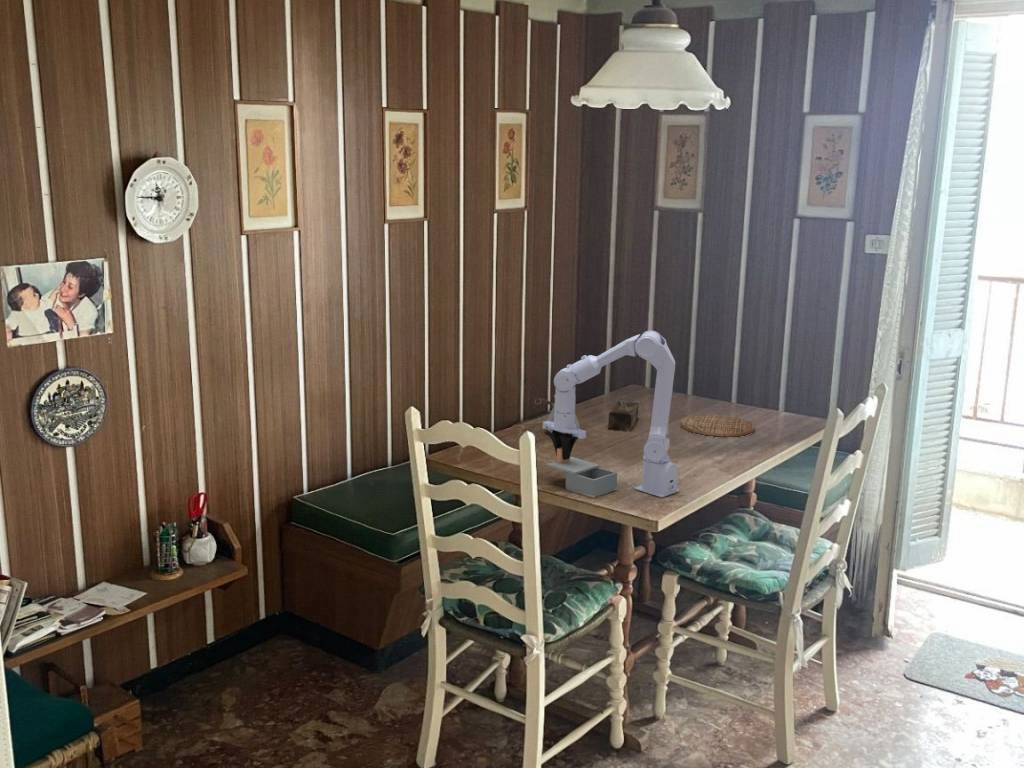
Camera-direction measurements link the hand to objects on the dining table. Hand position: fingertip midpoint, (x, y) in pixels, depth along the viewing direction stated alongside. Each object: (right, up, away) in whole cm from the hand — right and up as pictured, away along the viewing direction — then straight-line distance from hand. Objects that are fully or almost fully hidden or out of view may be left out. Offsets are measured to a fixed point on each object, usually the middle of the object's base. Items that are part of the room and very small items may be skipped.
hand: (563, 458), depth 285 cm
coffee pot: (-1, +3, +46) cm, 46 cm away
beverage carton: (+24, +7, +64) cm, 69 cm away
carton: (+7, -8, -6) cm, 13 cm away
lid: (+3, -2, -2) cm, 4 cm away
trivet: (+56, +5, +62) cm, 83 cm away
